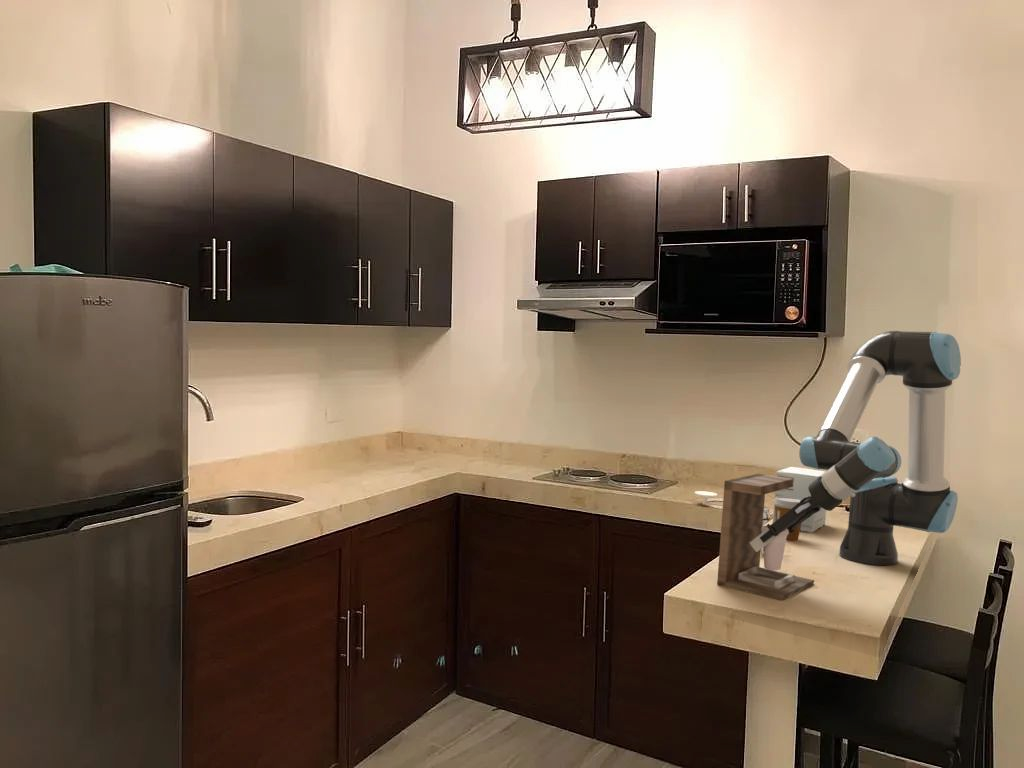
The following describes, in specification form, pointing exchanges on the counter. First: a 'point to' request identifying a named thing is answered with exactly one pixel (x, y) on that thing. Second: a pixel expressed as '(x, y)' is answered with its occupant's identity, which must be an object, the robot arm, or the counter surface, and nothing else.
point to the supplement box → (802, 493)
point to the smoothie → (774, 549)
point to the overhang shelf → (743, 527)
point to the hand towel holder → (706, 500)
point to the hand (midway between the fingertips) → (759, 544)
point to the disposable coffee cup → (784, 506)
